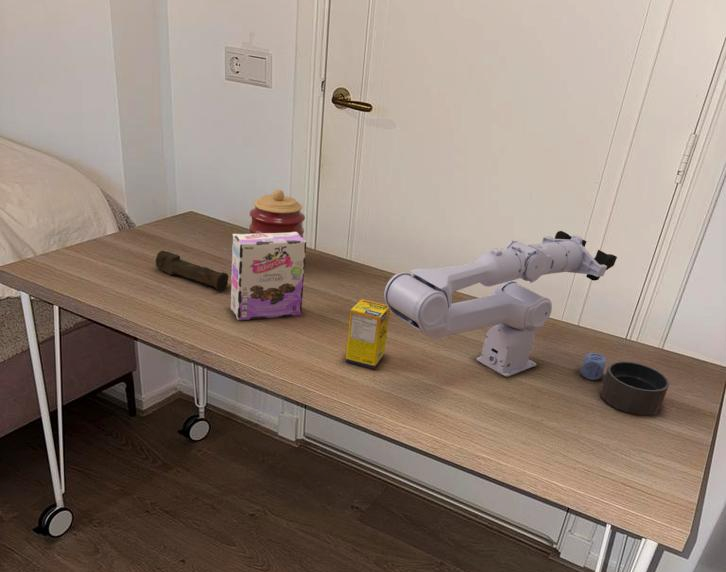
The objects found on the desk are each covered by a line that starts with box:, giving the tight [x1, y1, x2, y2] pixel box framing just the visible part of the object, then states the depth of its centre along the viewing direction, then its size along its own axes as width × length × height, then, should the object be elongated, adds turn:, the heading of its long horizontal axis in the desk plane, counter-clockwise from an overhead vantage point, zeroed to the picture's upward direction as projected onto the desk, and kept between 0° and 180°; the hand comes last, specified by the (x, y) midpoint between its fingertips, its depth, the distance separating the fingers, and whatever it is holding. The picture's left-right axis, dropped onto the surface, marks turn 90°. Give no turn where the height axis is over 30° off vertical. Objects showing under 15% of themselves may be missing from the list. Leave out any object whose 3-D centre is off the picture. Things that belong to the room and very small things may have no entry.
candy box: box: [230, 232, 307, 321], centre depth 145 cm, size 14×6×16 cm, turn 114°
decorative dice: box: [580, 352, 608, 381], centre depth 140 cm, size 4×4×4 cm
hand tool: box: [155, 250, 229, 293], centre depth 158 cm, size 19×4×5 cm, turn 60°
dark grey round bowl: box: [600, 360, 670, 416], centre depth 132 cm, size 11×11×6 cm
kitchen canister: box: [248, 188, 306, 238], centre depth 169 cm, size 13×13×18 cm
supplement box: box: [345, 298, 391, 370], centre depth 133 cm, size 6×6×11 cm
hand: (598, 253), depth 142 cm, fingers open, 7 cm apart
